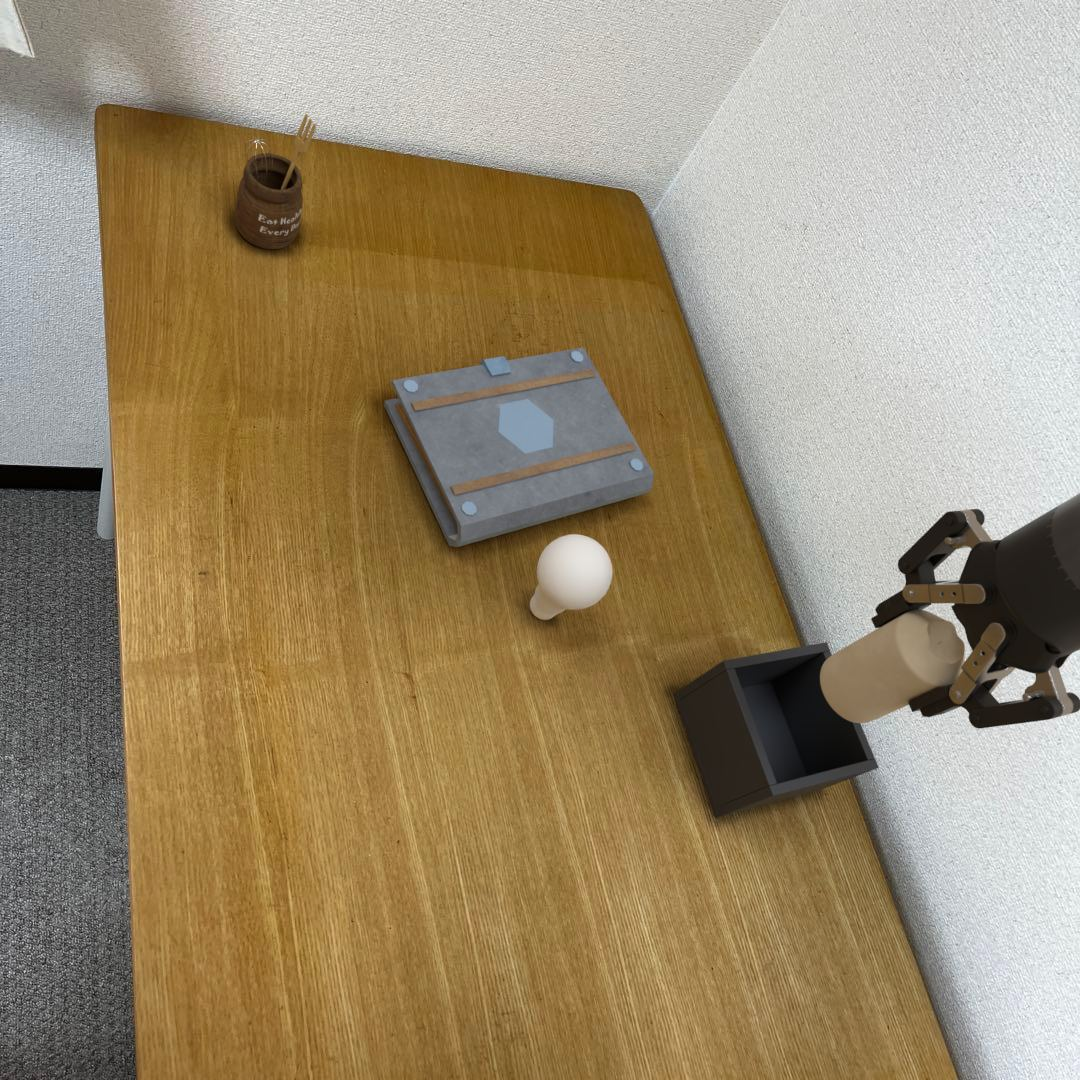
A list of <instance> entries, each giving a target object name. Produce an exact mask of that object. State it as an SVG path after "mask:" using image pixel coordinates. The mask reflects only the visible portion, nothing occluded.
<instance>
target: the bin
mask: <svg viewBox="0 0 1080 1080" xmlns="http://www.w3.org/2000/svg"><path fill="white" fill-rule="evenodd" d="M831 655H833V654H832V652H831V649H830V646H829V644H828V642H827V641H826V642H820V643H815V644H807V645H802V646H797V647H791V648H786V649H781V650H773V651H769V652H763V653H758V654H751V655H746V656H740V657H735V658H734V657H733V658H729V659H725V660H722V661H720V662H719V663H717V664H716V665H714V666H713V667H711V668H710V669H708V670H707V671H705V672H704V673H702V674H701V675H699V676H697V678H695V679H693V680H692V681H690V682H688V684H685V685H684V686H682V687H681V688H679V689H678V690H677V691H675V692H674V693H673V695H674V698H675V702H676V705H677V708H678V711H679V714H680V716H681V717H680V718H681V720H682V722H683V725H684V728H685V731H686V734H687V738H688V740H689V743H690V747H691V749H692V752H693V755H694V759H695V761H696V764H697V767H698V770H699V771H700V776H701V778H702V781H703V784H704V787H705V790H706V793H707V796H708V799H709V802H710V805H711V808H712V810H713V814H714V817H715V818H716V819H718V818H722V817H727V816H730V815H733V814H737V813H741V812H745V811H749V810H752V809H756V808H759V807H763V806H767V805H771V804H774V803H779V802H781V801H786V800H788V799H792V798H797V797H800V796H803V795H807V794H811V793H815V792H818V791H821V790H824V789H826V788H829V787H831V786H833V785H837V784H839V783H843V782H846V781H847V780H851V779H853V778H855V777H858V776H861V775H863V774H866V773H869V772H871V771H874V770H877V769H879V768H880V767H879V765H878V763H877V759H876V758H875V755H874V752H873V751H872V748H871V746H870V744H869V740H868V738H867V736H866V734H865V731H864V729H863V726H862V723H854V722H851V721H848V720H846V719H844V718H843V717H841V716H840V715H839V714H837V713H836V712H835V711H834V710H833V708H832V707H831V706H830V705H829V703H828V702H827V700H826V698H825V696H824V694H823V691H822V688H821V683H820V672H821V668H822V665H823V664H824V662H825V661H826V660H827V659H828V658H829V657H830V656H831Z"/></svg>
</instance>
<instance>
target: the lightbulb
mask: <svg viewBox="0 0 1080 1080" xmlns="http://www.w3.org/2000/svg"><path fill="white" fill-rule="evenodd" d="M536 579H537V583H538V584H537V586H536V588H535V591H534V594H533V595H532V597H531V599H530V601H529V608H530V611H531V613H532V615H534V616H535V617H536V618H537V619H540V620H542V621H548V620H551V619H553V618H554V617H556V616H557V615H558V614H561V613H563V612H565V611H566V610H571V611H580V610H584V609H588V608H590V607H592V606H594V605H596V604H597V603H599V602H600V601H601V600H602V599H603V598H604V597H605V596H606V594H607V592H608V591H609V589H610V586H611V583H612V580H613V565H612V560H611V559H610V556H609V554H608V552H607V551H606V549H605V547H604V546H603V545H602V544H601V543H600V542H598V541H597V540H595V539H593V538H592V537H590V536H586V535H583V534H576V533H571V534H565V535H563V536H562V535H561V536H559V537H557V538H556V539H554V540H552V541H550V542H549V544H548V545H546V546H545V548H544V549H543V551H542V552H541V553H540V556H539V559H538V561H537V566H536Z"/></svg>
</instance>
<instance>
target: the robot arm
mask: <svg viewBox="0 0 1080 1080" xmlns="http://www.w3.org/2000/svg"><path fill="white" fill-rule="evenodd" d="M985 519H986V518H985V514H984V511H982V510H981V509H979V508H970V509H960V510H951V511H946V512H945V513H944V514H943V515H942V516H941V517H940V518H939V519H938V520H937V521H936V522H935V523H933V525H932V526H931V527H930V528H929V529H928V530H926V532H924V534H923V535H922V536H920V538H919V539H918V540H917V541H915V542H914V544H912V545H911V547H910V548H908V550H907V551H906V552H904V554H903V555H902V556H900V558H898V561H897V567H898V570H899V572H900V573H901V574H903V575H904V577H905V578H904V579H905V583H904V586H903V587H902V589H901V590H900V591H898V592H896V593H895V594H893V595H891V596H889V597H888V598H886V599H884V600H883V601H882V602H880V603H878V604H877V606H876V607H875V609H874V611H875V613H876V615H874V616H872V617H871V619H870V620H871V622H872V624H873V626H874V627H873V628H874V629H878V628H880V627H881V626H883V625H885V624H887V623H888V622H890V621H892V620H894V619H895V618H897V617H899V616H901V615H903V614H904V613H906V612H908V611H911V610H924V609H926V608H928V607H930V606H932V604H952V605H950V608H951V609H952V612H953V613H954V616H955V617H956V619H957V620H958V622H959V623H960V624H961V626H962V627H963V629H964V632H965V636H966V640H967V642H968V644H969V647H970V649H971V652H970V654H969V655H968V657H967V658H965V662H964V664H963V665H962V667H961V669H962V670H963V671H962V673H961V674H960V675H959V677H958V678H957V680H956V681H955V682H954V684H950V685H946V686H943V687H940V688H938V689H936V690H934V691H932V692H929V693H927V694H925V695H923V696H920V697H918V698H916V699H914V700H911V701H909V702H908V704H909V705H908V706H909V708H910V710H911V712H912V713H915V712H919V711H920V713H921V716H922V717H924V718H932V717H935V716H936V717H937V716H940V715H943V714H946V713H949V712H952V711H954V710H956V709H958V708H963V709H964V710H966V712H967V713H968V720H969V723H970V724H971V725H972V727H974V728H975V729H978V730H979V729H988V728H995V727H996V728H997V727H1001V726H1002V727H1004V726H1010V725H1011V726H1012V725H1018V724H1025V723H1026V724H1027V723H1033V722H1040V721H1041V722H1042V721H1049V720H1053V719H1056V718H1061V717H1064V716H1068V715H1071V714H1072V715H1073V714H1075V713H1078V712H1079V711H1080V697H1079V696H1078V695H1077V694H1076V693H1073V692H1070V691H1068V692H1067V689H1066V686H1065V682H1064V680H1063V676H1062V674H1061V672H1060V668H1061V667H1062V666H1064V664H1065V663H1066V661H1067V659H1068V658H1070V656H1071V655H1072V654H1073V653H1075V652H1077V651H1080V492H1079V493H1077V494H1075V495H1073V496H1072V497H1070V498H1069V499H1067V500H1066V501H1064V502H1062V503H1060V504H1059V505H1057V506H1055V507H1054V508H1052V509H1050V510H1048V511H1047V512H1045V513H1042V515H1040V516H1038V517H1036V518H1035V519H1033V520H1031V521H1030V522H1028V523H1026V524H1024V525H1023V526H1021V527H1019V528H1018V529H1016V530H1014V531H1013V532H1011V533H1009V534H1007V535H1006V536H1005V537H1003V538H1000V539H994V540H992V537H990V536H989V534H988V532H987V531H986V530H985V529H984V527H983V525H984V523H985ZM966 548H969V549H970V551H969V553H968V555H967V558H966V561H965V562H964V563H965V564H964V566H963V568H962V571H961V574H960V577H959V579H951V580H950V579H948V580H946V579H945V580H936V575H935V570H937V568H938V567H940V565H941V564H942V563H944V562H945V561H946V560H947V559H948V558H949V557H950V556H951V555H952V554H953V553H954V552H955V551H956V550H960V549H966ZM1015 669H1017V670H1021V671H1023V672H1026V673H1030V674H1034V675H1035V679H1034V680H1035V681H1034V683H1032V684H1030V685H1028V686H1027V687H1026V688H1025V690H1024V693H1023V694H1022V695H1021V698H1022V699H1015V700H1010V701H1009V700H1008V701H1003V702H999V701H998V700H997V699H996V698H995V697H994V695H993V694H992V693H993V692H994V691H995V689H996V688H997V687H998V685H999V684H1000V683H1001V681H1002V680H1004V678H1006V677H1007V676H1010V675H1011V674H1012V673H1013V672H1014V670H1015Z"/></svg>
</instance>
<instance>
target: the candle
mask: <svg viewBox="0 0 1080 1080" xmlns="http://www.w3.org/2000/svg"><path fill="white" fill-rule="evenodd" d="M965 652H966V646H965V642H964V640H963V639H962V638H961V637H960V636H959V635H958V632H957V628H956V626H955V624H954V622H952V621H949V620H946V619H944V618H943V617H940V616H939V615H936V614H934V613H933V612H931V611H927V610H924V609H922V610H911V611H908V612H906V613H904V614H903V615H901V616H899V617H897V618H895V619H894V620H892V621H890V622H888V623H887V624H885V625H883V626H881V627H880V628H875V629H874V630H872V631H871V632H869V633H867V634H866V635H864V636H862V637H861V638H859V639H857V640H854V641H853V642H852V643H850V644H848V645H847V646H844V647H843V648H841V649H839V650H837V651H836V652H835V653H833V654H832V655H831V656H830V657H829V658H828V659H827V660H826V661H825V662H824V664H823V665H822V668H821V672H820V683H821V688H822V691H823V694H824V696H825V698H826V700H827V702H828V703H829V705H830V706H831V707H832V708H833V710H834V711H835V712H836V713H837V714H839V715H840V716H841V717H843V718H844V719H846V720H848V721H851V722H854V723H860V724H865V723H870V722H873V721H875V720H878V719H880V718H883V717H885V716H886V715H887V716H888V715H890V714H891V713H893V712H896V711H898V710H900V709H903V708H905V707H907V706H909V704H908V702H909V701H911V700H914V699H916V698H918V697H920V696H923V695H925V694H927V693H929V692H932V691H934V690H936V689H938V688H940V687H943V686H946V685H950V684H954V682H955V681H956V680H957V678H958V677H959V675H960V674H961V673H962V671H963V670H962V669H961V667H962V665H963V664H964V662H965V661H966V654H965Z"/></svg>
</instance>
